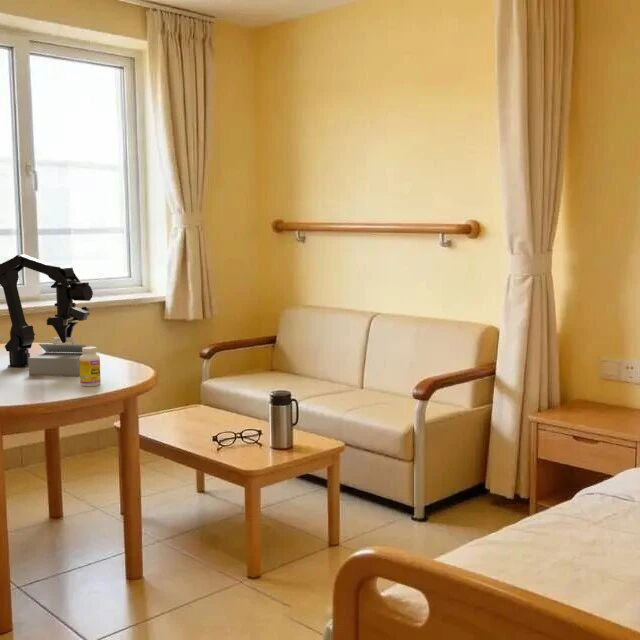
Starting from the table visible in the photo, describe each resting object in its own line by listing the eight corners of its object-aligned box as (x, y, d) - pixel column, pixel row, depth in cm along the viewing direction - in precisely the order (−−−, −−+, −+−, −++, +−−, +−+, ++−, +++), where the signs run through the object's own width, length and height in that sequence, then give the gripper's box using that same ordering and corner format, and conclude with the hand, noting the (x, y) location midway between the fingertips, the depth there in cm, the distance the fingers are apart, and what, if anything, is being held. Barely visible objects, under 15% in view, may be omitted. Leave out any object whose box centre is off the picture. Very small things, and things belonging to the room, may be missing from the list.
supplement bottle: (91, 387, 260) (90, 349, 258) (76, 386, 262) (74, 348, 261) (104, 383, 266) (103, 346, 264) (89, 382, 268) (88, 345, 267)
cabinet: (29, 375, 279) (28, 357, 279) (46, 367, 293) (45, 351, 292) (77, 376, 278) (76, 358, 277) (92, 368, 291) (91, 352, 291)
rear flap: (38, 344, 286) (40, 335, 288) (46, 352, 292) (48, 343, 294) (85, 345, 285) (86, 336, 286) (91, 352, 291) (93, 343, 292)
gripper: (75, 302, 277) (76, 345, 279) (95, 298, 296) (96, 339, 297) (45, 302, 279) (46, 345, 280) (67, 298, 297) (68, 338, 299)
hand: (66, 342), depth 289 cm, fingers open, 3 cm apart
